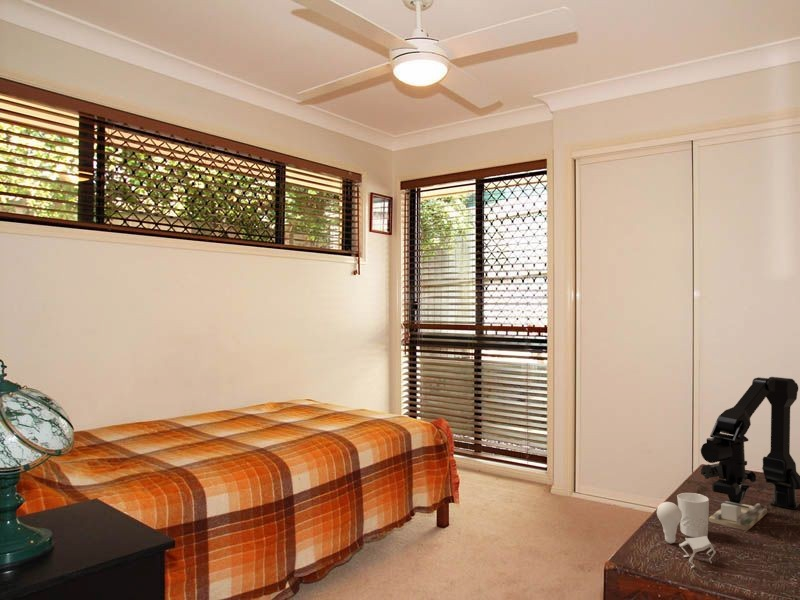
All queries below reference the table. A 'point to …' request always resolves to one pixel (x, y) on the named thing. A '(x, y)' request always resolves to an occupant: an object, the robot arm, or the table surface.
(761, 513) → the board
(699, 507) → the white cup
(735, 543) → the table surface
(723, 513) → the tuning slider
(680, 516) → the lightbulb
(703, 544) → the origami figure
